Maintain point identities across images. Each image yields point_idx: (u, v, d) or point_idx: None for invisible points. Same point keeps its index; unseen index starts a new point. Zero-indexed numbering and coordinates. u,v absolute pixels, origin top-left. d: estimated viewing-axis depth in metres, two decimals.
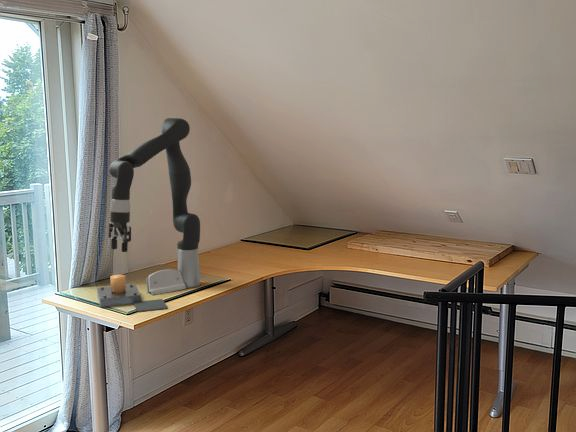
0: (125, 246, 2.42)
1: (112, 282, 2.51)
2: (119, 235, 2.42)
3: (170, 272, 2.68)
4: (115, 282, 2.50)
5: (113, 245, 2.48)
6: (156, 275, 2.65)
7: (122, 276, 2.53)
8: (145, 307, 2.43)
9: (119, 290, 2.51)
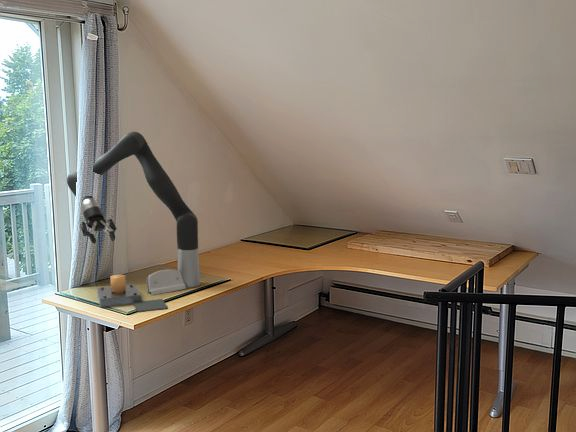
0: (90, 238, 2.55)
1: (112, 282, 2.51)
2: None
3: (170, 272, 2.68)
4: (115, 282, 2.50)
5: (111, 237, 2.62)
6: (156, 275, 2.65)
7: (122, 276, 2.53)
8: (145, 307, 2.43)
9: (119, 290, 2.51)
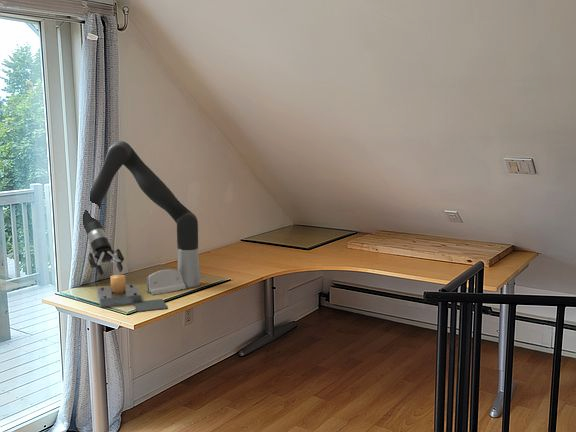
0: (97, 270, 2.54)
1: (112, 282, 2.51)
2: None
3: (170, 272, 2.68)
4: (115, 282, 2.50)
5: (118, 268, 2.60)
6: (156, 275, 2.65)
7: (122, 276, 2.53)
8: (145, 307, 2.43)
9: (119, 290, 2.51)
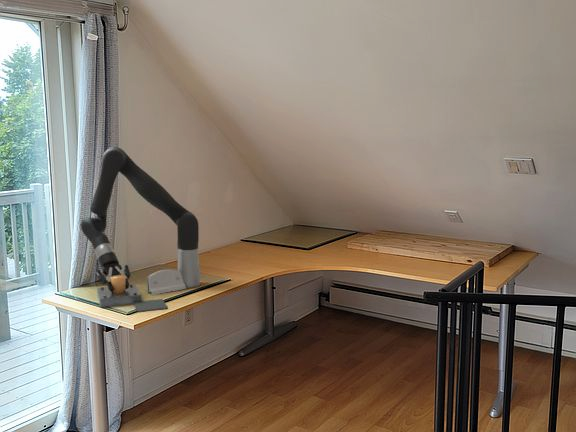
0: (108, 286, 2.51)
1: (112, 282, 2.51)
2: None
3: (170, 272, 2.68)
4: (115, 282, 2.50)
5: None
6: (156, 275, 2.65)
7: (122, 276, 2.53)
8: (145, 307, 2.43)
9: (119, 290, 2.51)
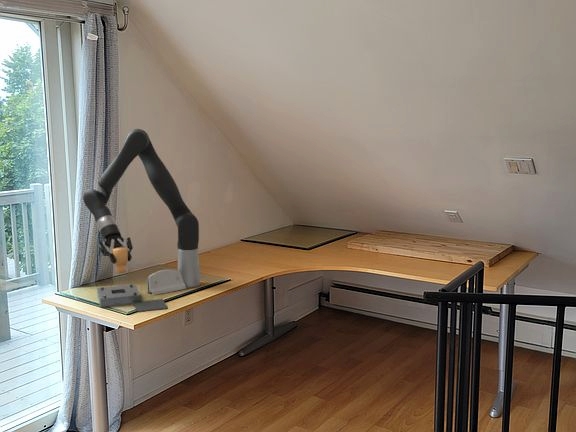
0: (110, 258, 2.48)
1: (114, 254, 2.48)
2: None
3: (170, 272, 2.68)
4: (117, 254, 2.47)
5: None
6: (157, 275, 2.65)
7: (124, 248, 2.50)
8: (145, 307, 2.43)
9: (121, 262, 2.48)
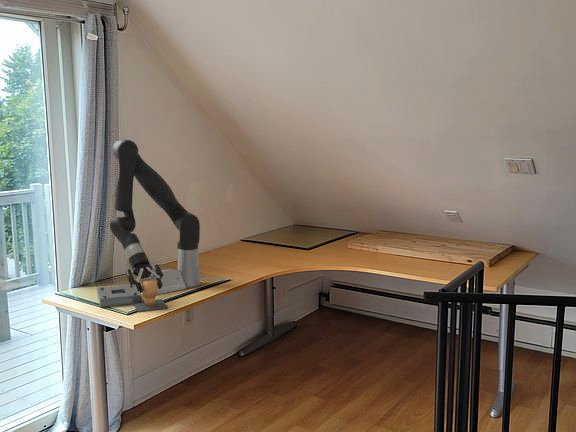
0: (137, 287, 2.42)
1: (144, 287, 2.43)
2: None
3: (170, 272, 2.68)
4: (147, 287, 2.42)
5: (158, 285, 2.48)
6: None
7: (154, 281, 2.45)
8: (145, 307, 2.43)
9: (151, 295, 2.43)
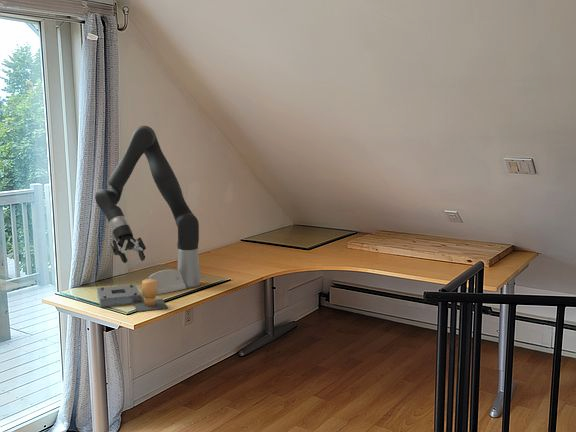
0: (121, 257, 2.51)
1: (144, 287, 2.43)
2: (121, 250, 2.55)
3: (170, 272, 2.68)
4: (147, 287, 2.42)
5: (140, 257, 2.58)
6: (157, 275, 2.64)
7: (154, 280, 2.45)
8: (145, 307, 2.43)
9: (151, 295, 2.43)
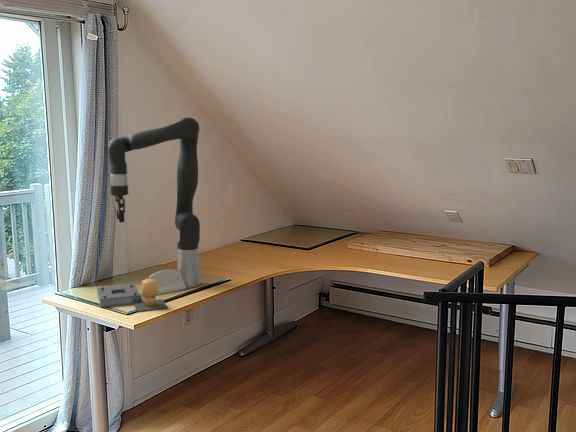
0: (121, 217, 2.63)
1: (144, 287, 2.43)
2: (116, 207, 2.64)
3: (170, 272, 2.68)
4: (147, 287, 2.42)
5: (118, 215, 2.71)
6: (157, 275, 2.64)
7: (154, 280, 2.45)
8: (145, 307, 2.43)
9: (151, 295, 2.43)
